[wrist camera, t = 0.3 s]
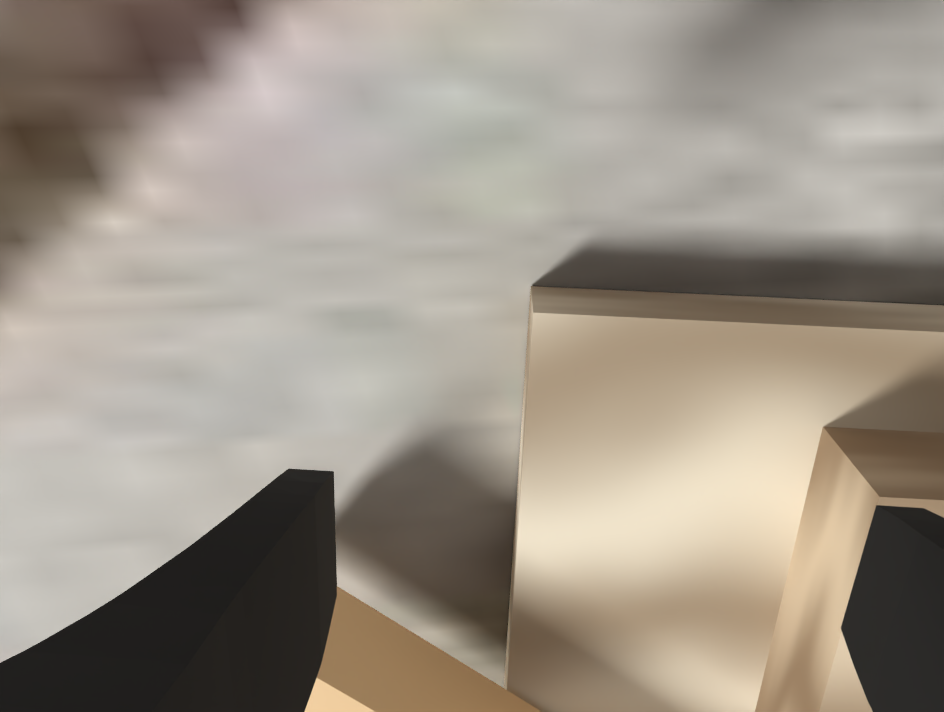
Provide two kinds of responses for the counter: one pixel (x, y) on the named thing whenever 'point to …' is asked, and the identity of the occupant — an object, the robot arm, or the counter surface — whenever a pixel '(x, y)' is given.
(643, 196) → the counter surface
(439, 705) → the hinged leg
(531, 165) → the counter surface
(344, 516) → the counter surface
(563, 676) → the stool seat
